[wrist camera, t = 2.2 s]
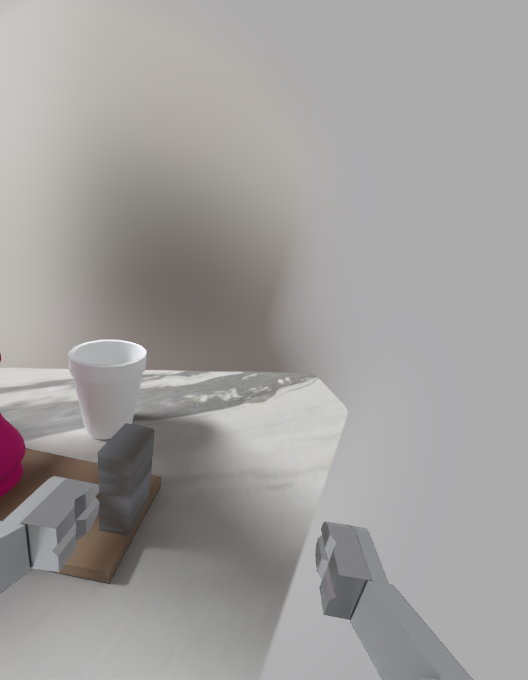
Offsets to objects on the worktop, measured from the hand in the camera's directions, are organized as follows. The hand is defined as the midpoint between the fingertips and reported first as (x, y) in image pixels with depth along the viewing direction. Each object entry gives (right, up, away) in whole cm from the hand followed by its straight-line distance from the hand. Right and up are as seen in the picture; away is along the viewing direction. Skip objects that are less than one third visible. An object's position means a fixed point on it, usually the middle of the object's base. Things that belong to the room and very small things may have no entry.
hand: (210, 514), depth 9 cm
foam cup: (-23, -8, +31) cm, 39 cm away
